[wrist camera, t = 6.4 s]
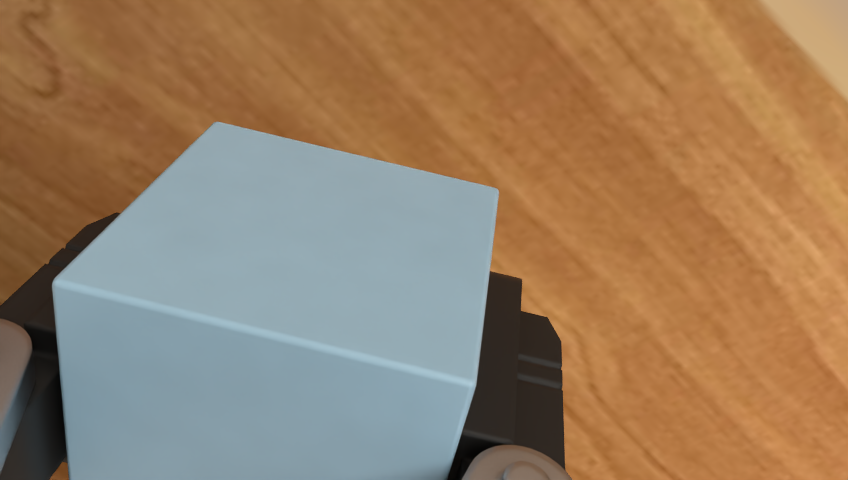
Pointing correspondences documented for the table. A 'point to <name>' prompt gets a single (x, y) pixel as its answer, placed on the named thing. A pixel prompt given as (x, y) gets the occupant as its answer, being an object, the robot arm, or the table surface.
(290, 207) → the block
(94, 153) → the table surface
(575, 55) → the table surface
